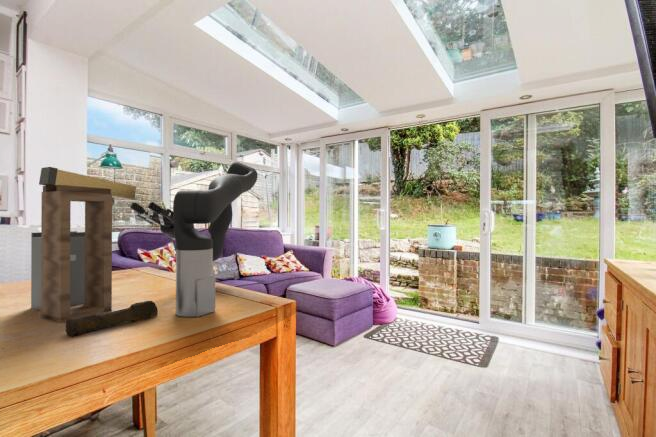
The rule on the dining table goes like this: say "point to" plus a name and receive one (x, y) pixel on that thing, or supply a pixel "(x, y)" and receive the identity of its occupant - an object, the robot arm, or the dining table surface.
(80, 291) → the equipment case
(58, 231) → the brown tall rectangular frame
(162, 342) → the dining table surface
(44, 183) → the rod
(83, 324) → the hand tool
